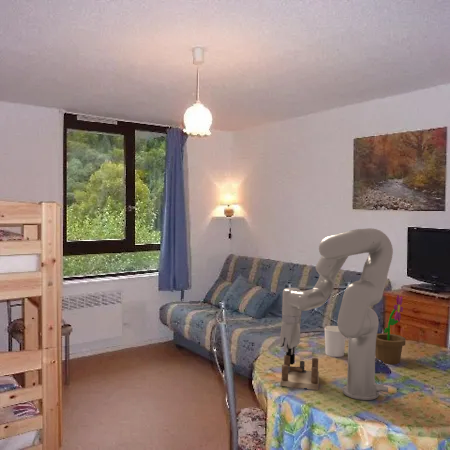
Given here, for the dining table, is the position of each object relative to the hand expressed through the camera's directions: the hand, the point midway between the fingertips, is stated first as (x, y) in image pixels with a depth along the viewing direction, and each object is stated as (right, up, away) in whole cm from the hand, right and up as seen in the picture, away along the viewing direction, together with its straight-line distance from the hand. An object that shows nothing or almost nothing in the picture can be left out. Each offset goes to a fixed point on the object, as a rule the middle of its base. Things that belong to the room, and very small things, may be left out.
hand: (290, 363), depth 192 cm
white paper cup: (+24, -3, +25) cm, 35 cm away
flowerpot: (+46, -4, +17) cm, 49 cm away
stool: (+3, -4, -10) cm, 11 cm away
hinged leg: (+1, -2, -4) cm, 4 cm away
